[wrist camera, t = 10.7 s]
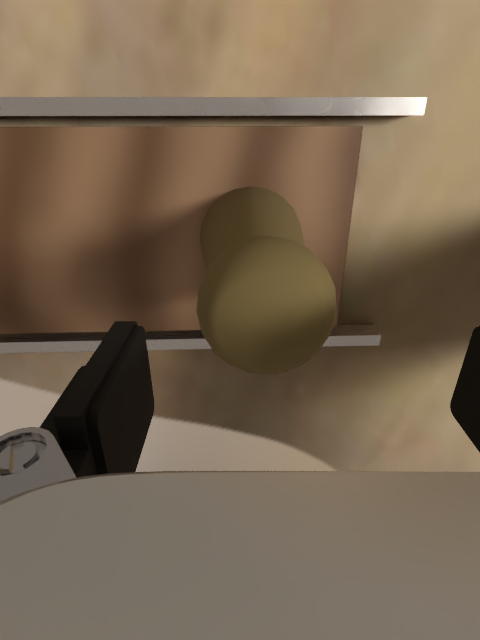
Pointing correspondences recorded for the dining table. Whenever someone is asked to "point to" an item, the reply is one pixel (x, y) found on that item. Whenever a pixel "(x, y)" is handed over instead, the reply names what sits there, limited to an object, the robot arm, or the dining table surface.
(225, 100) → the rails
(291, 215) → the cork
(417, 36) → the dining table surface
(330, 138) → the brown tray
